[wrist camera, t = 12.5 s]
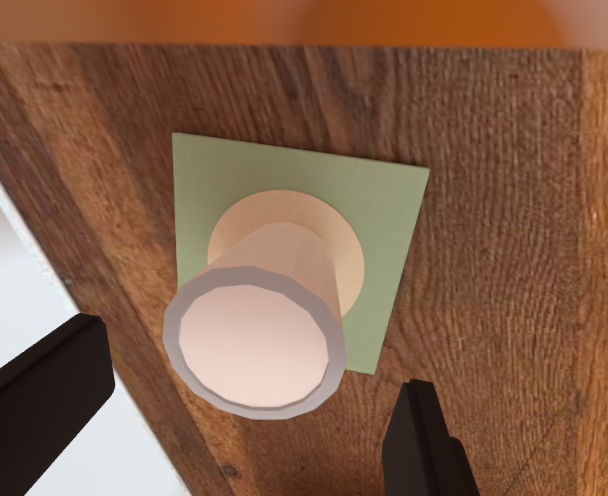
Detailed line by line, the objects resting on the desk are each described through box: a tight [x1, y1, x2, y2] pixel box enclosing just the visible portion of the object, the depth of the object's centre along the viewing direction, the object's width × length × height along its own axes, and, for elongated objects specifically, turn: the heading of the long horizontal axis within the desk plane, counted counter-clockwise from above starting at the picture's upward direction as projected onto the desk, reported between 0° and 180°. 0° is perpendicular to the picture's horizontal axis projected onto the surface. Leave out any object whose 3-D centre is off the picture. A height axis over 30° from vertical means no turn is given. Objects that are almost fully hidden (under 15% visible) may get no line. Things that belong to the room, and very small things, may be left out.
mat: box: [172, 132, 430, 375], centre depth 18 cm, size 13×13×1 cm
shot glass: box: [162, 222, 347, 419], centre depth 14 cm, size 7×7×7 cm
